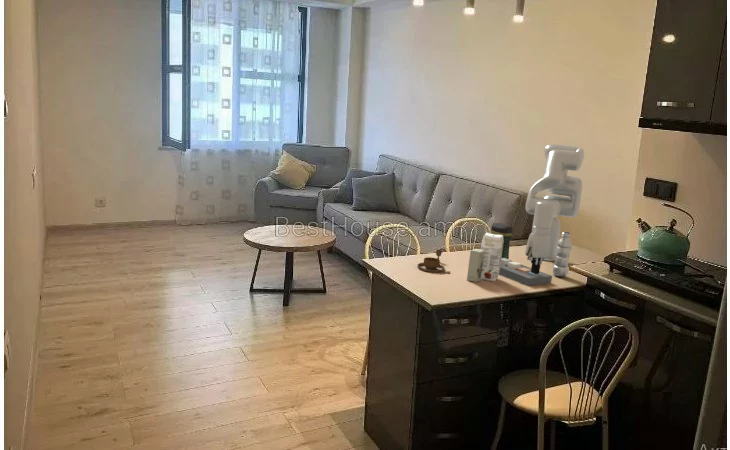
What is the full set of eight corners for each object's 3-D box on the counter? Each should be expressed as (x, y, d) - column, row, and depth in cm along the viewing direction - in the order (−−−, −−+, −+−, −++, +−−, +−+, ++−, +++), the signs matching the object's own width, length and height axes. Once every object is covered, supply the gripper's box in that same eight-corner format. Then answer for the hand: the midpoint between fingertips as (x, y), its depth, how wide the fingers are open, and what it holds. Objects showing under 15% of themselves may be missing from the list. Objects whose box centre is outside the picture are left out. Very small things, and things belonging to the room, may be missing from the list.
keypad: (508, 266, 292) (509, 260, 291) (551, 283, 272) (552, 275, 271) (486, 269, 284) (487, 262, 284) (528, 285, 264) (529, 278, 263)
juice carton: (496, 282, 265) (502, 238, 261) (476, 278, 267) (481, 234, 264) (499, 278, 272) (505, 234, 268) (479, 274, 274) (485, 231, 271)
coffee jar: (510, 264, 297) (516, 225, 293) (500, 266, 292) (505, 226, 288) (494, 259, 304) (499, 221, 300) (483, 260, 299) (488, 222, 295)
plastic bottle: (559, 278, 280) (566, 234, 275) (548, 274, 285) (555, 231, 281) (570, 278, 283) (577, 234, 278) (559, 273, 288) (566, 230, 284)
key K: (504, 262, 287) (504, 257, 287) (510, 264, 284) (511, 260, 284) (497, 262, 285) (498, 258, 285) (504, 265, 282) (504, 260, 282)
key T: (523, 272, 278) (524, 267, 277) (530, 274, 275) (531, 270, 274) (516, 272, 276) (517, 268, 275) (523, 275, 272) (524, 270, 272)
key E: (533, 275, 273) (534, 271, 273) (540, 278, 270) (541, 273, 269) (527, 276, 271) (528, 272, 270) (534, 279, 268) (535, 274, 267)
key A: (513, 265, 283) (514, 261, 282) (520, 268, 279) (521, 264, 279) (507, 266, 280) (508, 262, 280) (513, 269, 277) (514, 264, 277)
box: (476, 282, 262) (480, 252, 259) (466, 280, 264) (470, 250, 261) (480, 280, 266) (484, 250, 264) (471, 277, 269) (475, 248, 266)
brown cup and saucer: (406, 266, 279) (407, 253, 277) (436, 261, 292) (437, 248, 291) (436, 277, 266) (438, 263, 265) (466, 271, 280) (468, 258, 278)
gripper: (546, 228, 273) (540, 269, 277) (521, 229, 265) (515, 271, 269) (560, 232, 267) (553, 274, 271) (535, 233, 259) (529, 276, 263)
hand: (534, 272), depth 270 cm, fingers closed
